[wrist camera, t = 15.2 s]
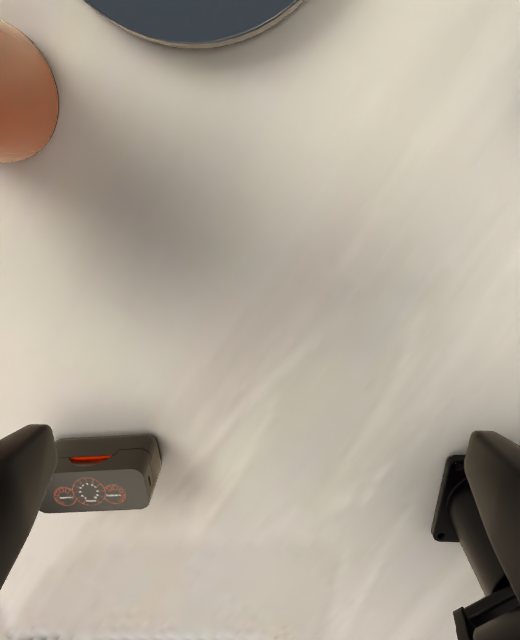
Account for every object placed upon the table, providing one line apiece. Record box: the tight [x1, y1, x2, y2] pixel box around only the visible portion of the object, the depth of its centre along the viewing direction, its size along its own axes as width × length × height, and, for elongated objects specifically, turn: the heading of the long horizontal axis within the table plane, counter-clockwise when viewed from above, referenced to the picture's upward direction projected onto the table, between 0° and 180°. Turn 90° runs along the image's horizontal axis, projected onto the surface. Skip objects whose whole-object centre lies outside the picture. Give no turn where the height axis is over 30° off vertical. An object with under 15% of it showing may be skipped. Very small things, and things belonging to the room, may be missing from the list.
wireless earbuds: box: [39, 434, 161, 513], centre depth 24 cm, size 5×7×3 cm, turn 95°
